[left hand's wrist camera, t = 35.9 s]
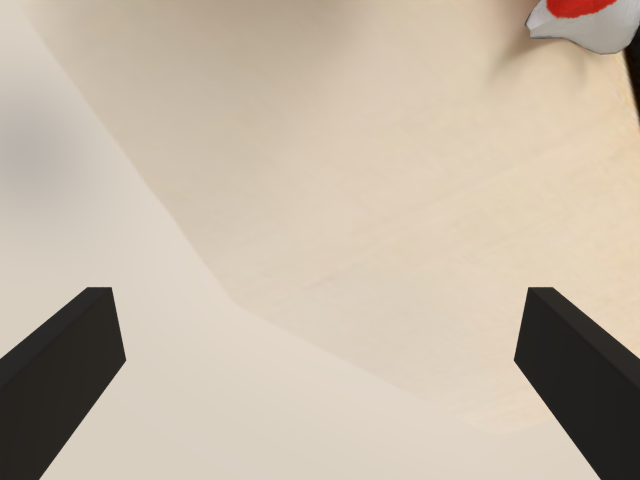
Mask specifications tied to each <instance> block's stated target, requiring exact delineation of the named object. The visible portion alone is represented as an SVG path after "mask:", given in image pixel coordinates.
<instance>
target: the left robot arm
mask: <svg viewBox="0 0 640 480" xmlns="http://www.w3.org/2000/svg"><path fill="white" fill-rule="evenodd" d="M125 361H126V357H125V352H124V347H123V342H122V337H121V332H120V327H119V322H118V317H117V312H116V307H115V302H114V297H113V292H112V288H111V287H87V288H86V289H85V290H83V291H82V292H81V293H80V294H79V295H77V296H76V297H75V298H74V299H72V300H71V301H70V302H69V303H68V304H66V305H65V306H64V307H63V308H62V309H60V310H59V311H58V312H57V313H56V314H54V315H53V316H52V317H51V318H50V319H48V320H47V321H46V322H45V323H43V324H42V325H41V326H40V327H39V328H37V329H36V330H35V331H34V332H33V333H31V334H30V335H29V336H28V337H26V338H25V339H24V340H23V341H22V342H20V343H19V344H18V345H17V346H15V347H14V348H13V349H12V350H11V351H9V352H8V353H7V354H6V355H5V356H3V357H2V358H1V359H0V480H39V479H40V478H41V476H42V475H43V473H44V472H45V471H46V470H47V468H48V467H49V465H50V464H51V463H52V461H53V460H54V459H55V457H56V456H57V454H58V453H59V452H60V450H61V449H62V448H63V446H64V445H65V443H66V442H67V441H68V439H69V438H70V437H71V435H72V434H73V433H74V431H75V430H76V428H77V427H78V426H79V424H80V423H81V422H82V420H83V419H84V418H85V416H86V415H87V413H88V412H89V411H90V409H91V408H92V407H93V405H94V404H95V403H96V401H97V400H98V398H99V397H100V396H101V394H102V393H103V392H104V390H105V389H106V387H107V386H108V385H109V383H110V382H111V381H112V379H113V378H114V376H115V375H116V374H117V372H118V371H119V370H120V368H121V367H122V366H123V364H124V363H125ZM514 361H515V363H516V364H517V366H518V367H519V368H520V370H521V371H522V372H523V374H524V375H525V377H526V378H527V379H528V381H529V382H530V383H531V385H532V386H533V387H534V389H535V390H536V392H537V393H538V394H539V396H540V397H541V398H542V400H543V401H544V403H545V404H546V405H547V407H548V408H549V409H550V411H551V412H552V413H553V415H554V416H555V418H556V419H557V420H558V422H559V423H560V424H561V426H562V427H563V428H564V430H565V431H566V433H567V434H568V435H569V437H570V438H571V439H572V441H573V442H574V444H575V445H576V446H577V448H578V449H579V450H580V452H581V453H582V454H583V456H584V457H585V459H586V460H587V461H588V463H589V464H590V465H591V467H592V468H593V470H594V471H595V472H596V474H597V475H598V476H599V478H600V479H601V480H640V359H639V358H638V357H637V356H635V355H634V354H633V353H632V352H631V351H629V350H628V349H627V348H626V347H625V346H623V345H622V344H621V343H620V342H618V341H617V340H616V339H615V338H614V337H612V336H611V335H610V334H609V333H608V332H606V331H605V330H604V329H603V328H601V327H600V326H599V325H598V324H597V323H595V322H594V321H593V320H592V319H591V318H589V317H588V316H587V315H586V314H584V313H583V312H582V311H581V310H580V309H578V308H577V307H576V306H575V305H574V304H572V303H571V302H570V301H569V300H568V299H566V298H565V297H564V296H563V295H561V294H560V293H559V292H558V291H557V290H555V289H554V288H553V287H528V292H527V297H526V302H525V307H524V312H523V317H522V322H521V327H520V332H519V337H518V342H517V347H516V352H515V357H514Z"/></svg>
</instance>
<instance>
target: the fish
mask: <svg viewBox="0 0 640 480" xmlns="http://www.w3.org/2000/svg"><path fill="white" fill-rule="evenodd" d="M639 24H640V0H541V1H540V2H539V3H538V4H537V6H536V7H535V8H534V9H533V11H532V12H531V13H530V15H529V17H528V19H527V20H526V22H525V25H526V26H527V27H528V28H529V30H530V38H535V39H550V38H560V39H568V40H570V41H572V42H574V43H575V44H577V45H580V46H582V47H584V48H586V49H588V50H590V51H592V52H595V53H598V54H601V55H603V54H616V53H618V52H620V51H621V50H623V49H624V48H625V47H626V46H628V45H629V44H630V42H631V41H632V39H633V37H634V36H635V34H636V31H637V29H638V27H639Z"/></svg>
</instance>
